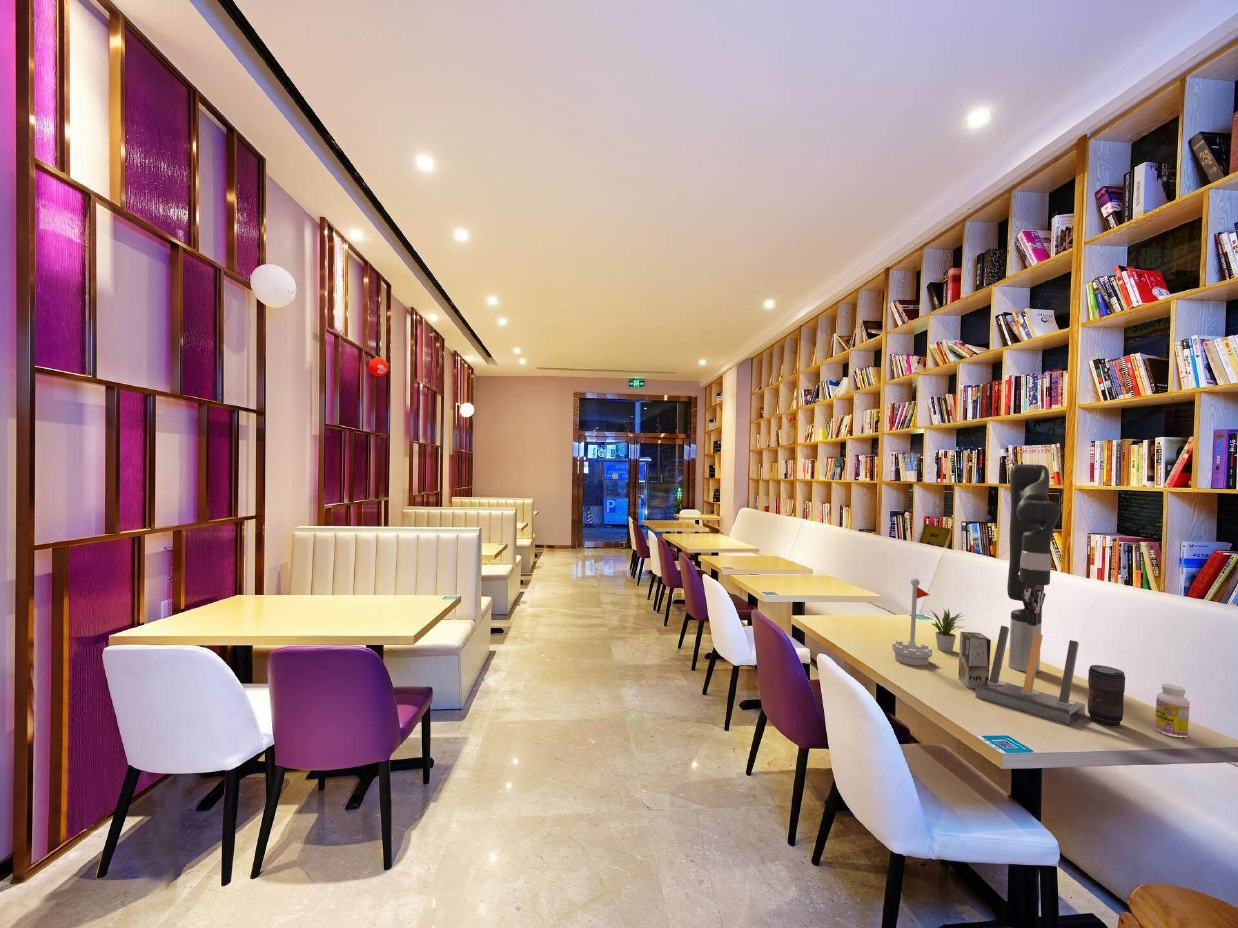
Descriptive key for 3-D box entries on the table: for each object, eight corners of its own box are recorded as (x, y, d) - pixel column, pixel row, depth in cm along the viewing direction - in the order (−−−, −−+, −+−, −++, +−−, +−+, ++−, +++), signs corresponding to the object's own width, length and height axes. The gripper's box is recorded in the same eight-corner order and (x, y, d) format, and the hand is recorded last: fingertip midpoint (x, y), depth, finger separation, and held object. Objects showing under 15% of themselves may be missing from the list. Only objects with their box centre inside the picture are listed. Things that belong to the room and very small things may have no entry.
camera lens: (1079, 718, 173) (1082, 665, 173) (1097, 714, 176) (1099, 663, 176) (1112, 729, 165) (1114, 675, 165) (1129, 726, 168) (1132, 672, 169)
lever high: (1057, 705, 174) (1069, 641, 179) (1069, 708, 172) (1080, 643, 177) (1056, 703, 173) (1067, 639, 178) (1067, 706, 171) (1079, 641, 176)
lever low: (988, 685, 188) (1001, 626, 193) (998, 688, 186) (1011, 628, 191) (986, 683, 187) (999, 625, 192) (996, 686, 185) (1009, 627, 190)
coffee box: (989, 690, 192) (991, 639, 192) (967, 688, 193) (969, 637, 194) (978, 681, 201) (980, 632, 201) (957, 678, 202) (959, 630, 202)
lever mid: (1021, 694, 181) (1033, 633, 186) (1032, 697, 179) (1044, 635, 184) (1020, 693, 180) (1032, 631, 185) (1031, 696, 178) (1042, 634, 183)
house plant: (976, 657, 228) (978, 614, 228) (939, 655, 228) (941, 612, 229) (956, 646, 243) (957, 605, 243) (921, 644, 243) (923, 603, 243)
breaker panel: (993, 688, 194) (993, 676, 194) (1084, 714, 176) (1085, 701, 176) (975, 696, 186) (976, 684, 186) (1069, 725, 167) (1070, 711, 167)
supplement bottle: (1148, 728, 168) (1150, 681, 168) (1170, 728, 168) (1172, 682, 169) (1172, 739, 161) (1174, 690, 161) (1194, 739, 162) (1197, 691, 162)
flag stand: (885, 658, 221) (889, 576, 221) (900, 652, 230) (904, 573, 230) (922, 668, 212) (927, 582, 212) (937, 661, 220) (941, 579, 220)
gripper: (1028, 563, 188) (1025, 619, 188) (1012, 566, 180) (1010, 624, 180) (1057, 567, 182) (1054, 625, 182) (1042, 570, 174) (1039, 631, 174)
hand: (1032, 625), depth 181 cm, fingers closed
